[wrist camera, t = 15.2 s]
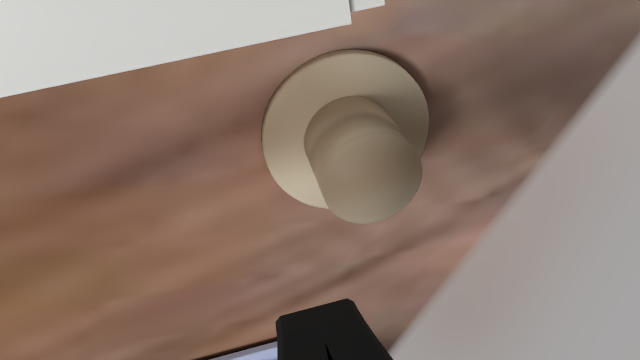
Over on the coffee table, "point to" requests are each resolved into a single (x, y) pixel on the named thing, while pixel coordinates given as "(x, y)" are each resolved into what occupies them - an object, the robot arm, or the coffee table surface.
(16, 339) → the coffee table surface
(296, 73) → the disc pedestal
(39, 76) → the box
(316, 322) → the robot arm
